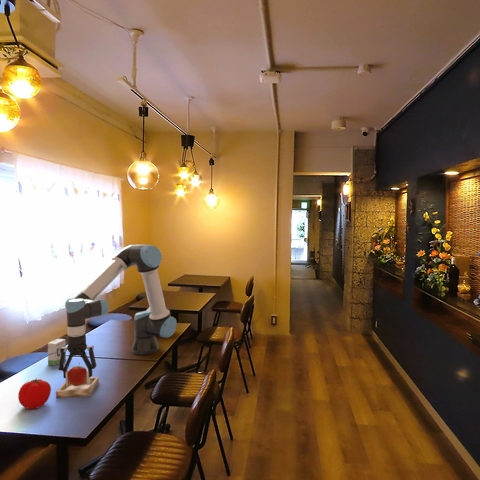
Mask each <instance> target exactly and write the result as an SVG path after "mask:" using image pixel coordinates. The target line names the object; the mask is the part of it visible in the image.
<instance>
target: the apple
mask: <svg viewBox="0 0 480 480" xmlns="http://www.w3.org/2000/svg"><path fill="white" fill-rule="evenodd" d="M80 363H81V362H78V365H76V366H72V367H71V368H70V369H68V370H69V372H68V379H69V381H70V383H71V384H72V385H73V386H79V385H82V384H83V383H85V381H86V380H87V370H88V369H86V367H84V366H82V365H81V366H80Z"/></svg>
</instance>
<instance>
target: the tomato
mask: <svg viewBox="0 0 480 480" xmlns="http://www.w3.org/2000/svg"><path fill="white" fill-rule="evenodd" d="M51 392H52V387H51V384H50V383H49V382H48V381H46V380H43V379H40V378H39V379H37V378H35V379H32V380H30V381H26V382H24V383H23V384H22V385H21V387H20V388H19V391H18V402H19V404H20V405H21V406H22V407H24V408H25V409H28V410H35V409H37V408H40V407H42V406H44V405H45V404H46V403H47V402H48V400H49V398H50V396H51V394H52V393H51Z"/></svg>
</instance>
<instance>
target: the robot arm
mask: <svg viewBox="0 0 480 480" xmlns="http://www.w3.org/2000/svg"><path fill="white" fill-rule="evenodd" d="M162 258H163V256H162V251H161V250H160V248H159V247H157V246H155V245H154V244H153V245H152V244H130V245H127V246H125V247H124V248H122V249H121V250H120V251H118V252H117V253H116V254H115V255H114V256H113V257H111V262H110V263H109V264H107V266H106V267H105V268H103V270H101V272H99V274H98V275H97V276H95V278H93V280H91V281H90V283H88V285H86V286H85V288H84V287H83V289H82V290H81V291H80V292H79V293H78V294H77V295H76V296H72V297H69V298H68V299H67V300H66V301H65V309H66V327H67V328H66V329H67V333H66V334H67V346H66V347H62V348H61V349H60V351H61V357H60V363H59V364H58V371H62V373H63V379H65V381H66V386H68V385H69V384H70V381H69V379H68V372H69V370H70V369H69V366H70V364H71V362H72V359H73V357H75V356H79V357H80V358H81V359H82V360H83V363H84V364H85V367H86V368H87V369H86V370H87V385H89V384H90V377H93V370H95V369H96V367H97V361H96V358H95V353H94V347H95V346H94V345H88V344H87V335H86V333H87V332H86V331H87V329H86V326H87V325H86V320H88V319H92V318H95V317H101V316H103V315H106V314H107V313H108V311H109V310H110V309H109V303H108V301H107V300H106V299H104V298H98V297H99V296H100V295H101V294H102V293H103V292H104V290H106V288H108V286H110V285H111V284H112V282H113V281H115V279H116V278H117V277H118V276H120V275H121V274H122V272H125V271H127V269H129V268H130V267H136V269H137V273H139V274H141V277H142V282H143V285H144V290H145V294H146V297H147V298H146V299H147V303H148V306H149V307H150V311H146V310H143V311H139V312H136V313H135V314H134V319H133V320H134V322H133V323H134V340H133V342H132V343H133V344H132V347H131V352H132V354H134V355H138V356H143V355H151V354H155V353H157V352H159V350H160V349H159V343H158V340H157V337H160V338H170V337H172V336H173V335H174V334H175V332H176V329H177V327H178V326H177V319H176V318H175V317H174V316H172V315H171V312H170V311H171V310H170V309H167V307H166V303H165V298H164V294H163V293H164V292H163V290H162V289H163V288H162V285H161V280H160V276H159V273H158V269H159V268H160V265H161V263H162ZM97 298H98V299H97ZM86 350H87V351H88V355H89V357H88V355H87V352H86ZM67 351H68V353H69V355H68V357H67V359H66V360H65V354H66V353H67ZM66 355H67V354H66ZM65 361H66V363H65Z"/></svg>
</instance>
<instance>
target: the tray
mask: <svg viewBox="0 0 480 480" xmlns="http://www.w3.org/2000/svg"><path fill="white" fill-rule="evenodd" d="M99 381H100V379H99V376H91V377H90V384H89V385H87V380H86V381H85V383H83V384H82V385H79V386H73V385H72V384H71V383H70V384H69V385H68V386H66V380H65V381H64V382H63V383H62V384H61V385H60V386H59V388H58V389H57V390H56V391H55V398H56V399H70V398H71V399H72V398H87V397H88V398H90V397H91V396H92V394H93V393H94V392H95V390H96V388H97V387H98V385H99V383H100V382H99Z"/></svg>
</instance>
